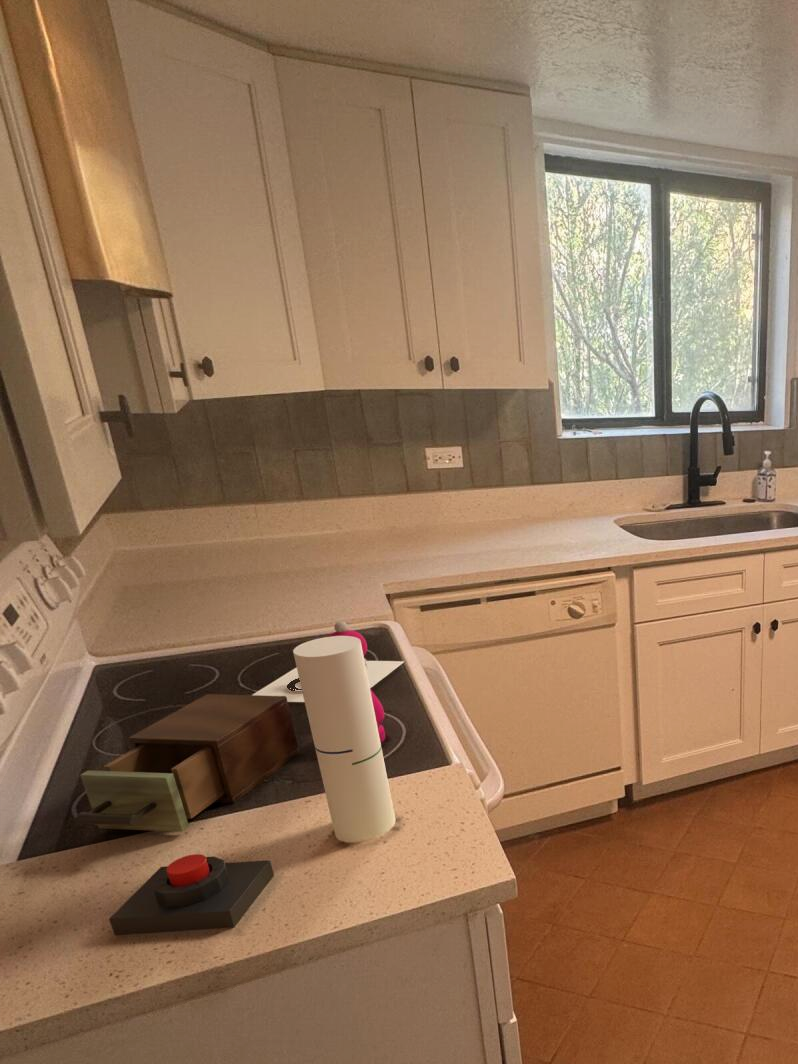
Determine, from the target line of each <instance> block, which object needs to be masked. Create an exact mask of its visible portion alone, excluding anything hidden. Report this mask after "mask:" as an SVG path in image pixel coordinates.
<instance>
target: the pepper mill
mask: <svg viewBox="0 0 798 1064" xmlns="http://www.w3.org/2000/svg"><path fill="white" fill-rule="evenodd" d="M331 636H352V637H356V638H358V639H360V640H361V645H362V650H363V656H364V661H365V666H366V669H367V667H368V666H367V664H366V662H367V661H368V660H367V658H365V655H366V654H367V652H368V644H367V641H366V639H365V637H364V636H363V635H362V634H361V633H360V632H357V631H356V630H350V629H349V627H348V624H347V623H346V622H345V621H337V622H336V623H335V624H334V632H332V633H331V634H328V636H327V637H331ZM370 691H371V697H372V702H373V707H374V712H375V717H376V722H377V727H378V732H379V738H380V743H381V744H382V743H383V742H384V741H385V740H386V732H385V727H384V726H383V725H382V723H383V721H384V719H385V709H384V706H383V704H382V703H381V701H380V699H379V698H378V697H377V695H376V694H375V692H374V691H373V690H372V688H370Z"/></svg>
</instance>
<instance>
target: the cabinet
mask: <svg viewBox="0 0 798 1064" xmlns="http://www.w3.org/2000/svg"><path fill="white" fill-rule="evenodd" d="M290 710H291V709H290V707H289V702H288V701H287V697H286V696H260V695H253V694H222V693H221V694H219V693H218V694H217V693H206V694H205V695H203V696H201V697H199V698H197V699H195V700H194V701H192V702H189V704H187V705H185V706H183V707H181V708H179V709H177V710H176V711H173V712H172V713H170V714H168V715H167V716H165V717H163V718H161V719H160V720H158V721H156V722H154V723H152V724H151V725H148V726H147V727H145V728H143V729H142V730H140V731H138V732H136V733H134V734H132V735H131V736H128V738H127V739H128V742H129V746H130V750H133V749H134V748H136V747H138V746H140V745H141V744H173V745H203V746H213V749H214V752H215V756H216V760H217V763H218V767H219V770H220V774H221V778H222V781H223V785H224V788H225V792H226V793H225V794H224V795H223V796H221V797H220V798H219V799H217V800H216V801H215V802H213V803H214V804H216V803H217V804H235V803H237V802H238V801H239V800H240V799H242V798H243V797H244V796H245V795H247V794H248V793H249V792H251V791H252V790H253V789H254V788H256V787H257V786H258V785H260V784H261V783H263V782H264V781H265V780H267V779H268V778H269V777H270V776H272V775H273V774H274V773H276V772H277V771H278V770H279V769H281V768H282V767H283V766H285V765H286V764H287V763H288V762H290V761H291V760H292V759H293V758H295V757H297V756H298V755H299V754H300V749H299V745H298V740H297V736H296V735H297V734H296V732H295V728H294V724H293V719H292V715H291V711H290ZM213 803H212V804H213Z"/></svg>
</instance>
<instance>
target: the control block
mask: <svg viewBox="0 0 798 1064" xmlns="http://www.w3.org/2000/svg"><path fill="white" fill-rule="evenodd" d="M205 857H206V859H207V863H208V866H209V869H210V873H209V875H208V876H207V877H205V878H203V879H201V880H200V881H198V882H196V883H193V884H189V885H186V886H179V887H173V886H172V885H171V884H170V880H169V877H168V874H167V871H166V870H167V867H168V866H169V865H168V866H160V867H159V868H158V869H157V870H156V871H155V872H154V873H153V874H152V875H151V876H150V877H149V878H148V879H147V880H146V881H145V882H144V883H143V884H142V885H141V886H140V887H139V888H138V889H137V890H136V891H135V892H134V893H133V894H132V895H131V896H130V897H129V898H128V899H127V900H126V901H125V902H124V903H123V904H122V905H121V906H120V907H119V908H118V909H117V910H116V911H115V912H114V914H112V916H111V917H109V918H108V920H109V924H110V927H111V929H112V932H113V935H114V936H128V935H143V934H144V935H145V934H157V933H158V934H159V933H160V934H161V933H174V932H176V933H177V932H188V931H189V932H190V931H204V930H218V929H219V930H220V929H235V928H236V926H237V925H238V924H239V923H240V921H241V920H242V919H243V917H244V916H245V914H246V913H247V912H248V910H249V909H250V908H251V907H252V905H253V904H254V903H255V901H256V900H257V899H258V897H260V895H261V894H262V892H263V891H264V890H265V888H266V887H267V886H268V885H269V883H270V882H271V881H272V879H273V878H274V877H275V874H274V873H275V872H274V869H273V866H272V861H271V860H270V859H268V860H251V861H249V860H248V861H233V862H232V861H231V862H225V860H224V859H221V858H219V857H216V856H205Z"/></svg>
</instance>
